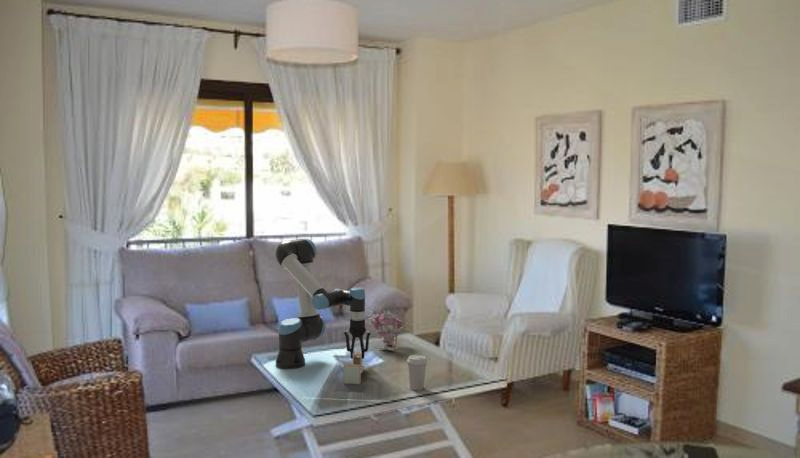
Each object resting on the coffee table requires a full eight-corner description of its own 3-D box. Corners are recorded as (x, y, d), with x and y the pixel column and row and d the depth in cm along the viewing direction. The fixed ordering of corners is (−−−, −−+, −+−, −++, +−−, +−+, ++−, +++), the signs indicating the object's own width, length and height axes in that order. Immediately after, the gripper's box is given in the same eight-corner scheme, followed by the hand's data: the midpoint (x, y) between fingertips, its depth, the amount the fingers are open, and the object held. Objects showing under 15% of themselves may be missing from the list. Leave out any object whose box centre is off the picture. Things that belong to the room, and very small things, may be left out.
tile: (344, 382, 321) (344, 364, 320) (360, 382, 321) (360, 364, 320) (343, 383, 319) (343, 365, 318) (360, 384, 318) (360, 366, 317)
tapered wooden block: (351, 361, 343) (351, 351, 342) (367, 361, 342) (367, 352, 341) (345, 372, 325) (345, 362, 324) (362, 372, 324) (362, 362, 324)
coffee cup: (409, 392, 310) (409, 360, 309) (404, 385, 319) (405, 354, 318) (429, 391, 312) (429, 359, 310) (424, 384, 321) (424, 353, 320)
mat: (338, 382, 322) (338, 381, 322) (367, 383, 321) (367, 382, 321) (333, 392, 309) (333, 391, 309) (363, 393, 308) (363, 392, 308)
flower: (421, 345, 382) (407, 303, 387) (400, 350, 362) (385, 306, 368) (393, 355, 391) (380, 314, 397) (371, 361, 372) (358, 318, 377)
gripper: (340, 320, 330) (340, 366, 332) (372, 321, 328) (372, 367, 331) (342, 316, 337) (343, 362, 340) (374, 317, 336) (374, 363, 338)
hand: (357, 364), depth 335 cm, fingers closed on tapered wooden block, 3 cm apart
